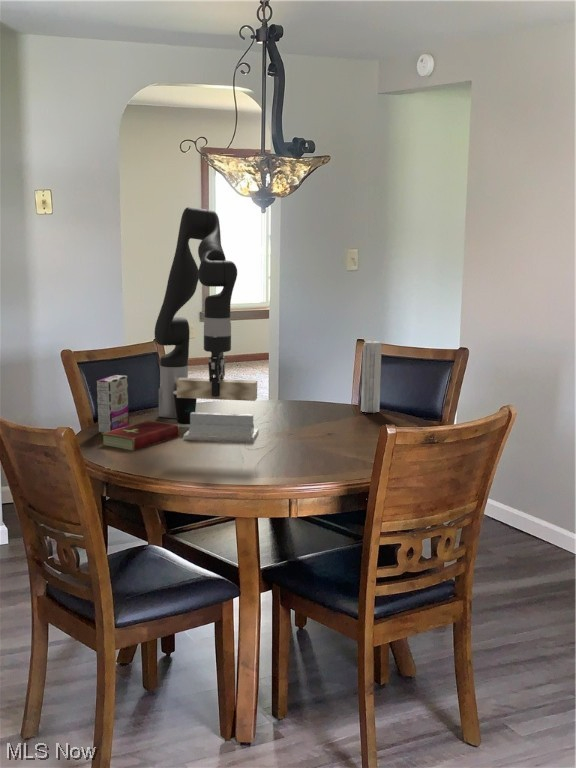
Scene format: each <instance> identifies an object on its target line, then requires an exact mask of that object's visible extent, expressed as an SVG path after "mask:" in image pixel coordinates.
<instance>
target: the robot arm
mask: <svg viewBox="0 0 576 768" xmlns="http://www.w3.org/2000/svg"><path fill="white" fill-rule="evenodd" d="M181 214H182V215H181V219H180V222H179V223H180V224H179V230H178V236H177V241H176V247H175V253H174V256H173V260H172V264H171V268H170V271H169V273H168V280H167V284H166V290H165V294H164V299H163V302H162V305H161V307H160V310H159V313H158V316H157V319H156V322H155V325H154V326H155V327H154V339H155V342H156V343H157V344H158V345H160V346H164V347H165V346H166V347H167V346H174V348H173V350H170V352H167V353H166V354H164V355H162V356H160V359H159V378H160V380H159V383H160V384H159V386H160V387H159V388H158V417H159V418H160V417H162V418H165V419H166V418H168V419H177V416H176V407H175V398H174V394H173V392H174V391H177V379H179V378H189V369H188V368H189V367H188V365H189V363H188V362H189V358H190V357H189V355H190V351H189V350H190V331H191V330H190V325H189V322H188V319H187V318H186V317H180V316H178V317H176V316H175V315H176V314H177V313H178V312H179V310H180V309H181V308H183V307H184V306H185V305H186V304H187V303H188V302H189V301H190V300H191V299H192V298H193V296H194V294H195V293H196V291H197V287H198V283H199V282H200V284H201V285H203V286H205V287H214V288H216V287H219V288H220V287H221V288H222V290H221V291H220V292H219V293H216V294H211V295H208V296H206V297H205V299H204V322H203V350H204V352H208V353H209V352H210V353H211V354H210V357H209V358H208V377H209V378H208V379H209V381H210V382H211V383H212V396H213V397H219V396H220V379H224V377H225V376H226V360H227V357H226V355H224V353H228V352H230V351H231V350H232V322H231V303H232V302H231V301H232V295H233V291H234V289H235V288H234V287H235V284H236V281H237V278H238V267H237V265H236V264H235V263H234V262H233V261H231V260H227V259H226V255H225V252H224V250H223V247H222V238H221V226H220V218H219V216H218V214H217V213H216V212H215V210H211V209H206V208H200V207H193V206H192V207H191V206H188V207H185V208H184V210H183V212H182V213H181ZM190 239H193V240H200V243H199V244H198V247H197V254H198V258H199V260H200V263H199V268H198V265H197V263H196V261H195V260H196V259H194V256H193V254H192V252H191V249H190V245H189V244H190V243H189V242H190Z"/></svg>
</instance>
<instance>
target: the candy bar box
mask: <svg viewBox="0 0 576 768" xmlns="http://www.w3.org/2000/svg"><path fill="white" fill-rule="evenodd" d="M128 380H129V379H128V375H123V374H120V375H119V374H114V375H111V376H107V377H105V378H101V379H98V380H96V402H97V403H96V404H97V421H98V422H97V423H98V426H97V427H98V429H97V430H98V432H99V433H104V432H108V431H111V430H115V429H119V428H122V427H126V426H130V415H129V411H130V410H129V382H128Z"/></svg>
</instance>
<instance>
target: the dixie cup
mask: <svg viewBox="0 0 576 768" xmlns="http://www.w3.org/2000/svg"><path fill="white" fill-rule="evenodd" d="M173 394H174V398H175V407H176V416H177V418H176V423H177V425H178V426H179V428H189V424H190V413H191V412H196V407H197V400H198V399H197V398H177V391H174V392H173Z"/></svg>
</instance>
